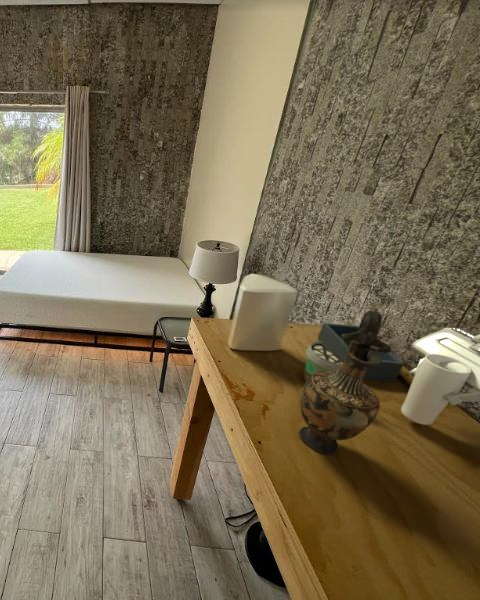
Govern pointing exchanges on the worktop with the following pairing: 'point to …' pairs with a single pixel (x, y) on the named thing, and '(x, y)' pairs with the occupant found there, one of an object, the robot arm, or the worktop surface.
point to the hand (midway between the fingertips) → (430, 388)
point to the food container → (320, 360)
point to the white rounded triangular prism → (261, 314)
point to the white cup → (432, 389)
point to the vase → (343, 391)
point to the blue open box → (336, 345)
